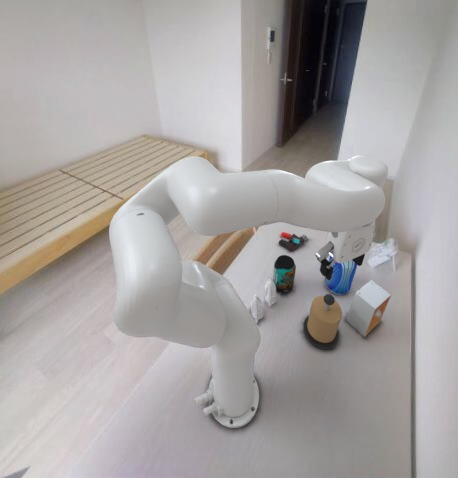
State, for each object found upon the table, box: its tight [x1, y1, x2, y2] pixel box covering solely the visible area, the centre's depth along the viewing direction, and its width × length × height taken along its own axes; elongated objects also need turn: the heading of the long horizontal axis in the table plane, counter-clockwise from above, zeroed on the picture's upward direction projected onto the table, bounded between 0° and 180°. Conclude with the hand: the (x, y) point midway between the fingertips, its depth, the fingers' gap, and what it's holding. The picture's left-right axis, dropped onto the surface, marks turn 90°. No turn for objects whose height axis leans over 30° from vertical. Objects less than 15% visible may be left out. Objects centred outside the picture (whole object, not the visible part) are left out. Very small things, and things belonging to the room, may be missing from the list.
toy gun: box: [278, 231, 308, 252], centre depth 112 cm, size 10×12×5 cm
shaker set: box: [250, 278, 278, 324], centre depth 85 cm, size 12×4×11 cm, turn 134°
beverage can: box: [272, 254, 297, 295], centre depth 91 cm, size 7×7×12 cm
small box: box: [346, 279, 392, 338], centre depth 79 cm, size 8×6×13 cm
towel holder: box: [302, 293, 343, 351], centre depth 76 cm, size 10×16×10 cm
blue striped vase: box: [324, 250, 358, 296], centre depth 90 cm, size 8×8×16 cm
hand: (340, 268), depth 66 cm, fingers open, 9 cm apart
